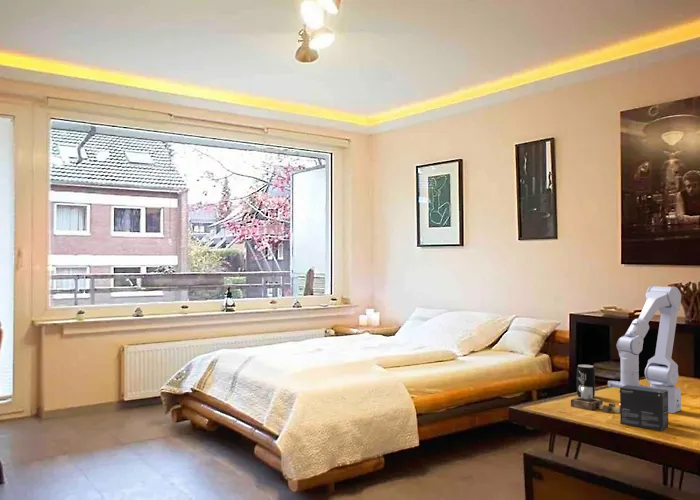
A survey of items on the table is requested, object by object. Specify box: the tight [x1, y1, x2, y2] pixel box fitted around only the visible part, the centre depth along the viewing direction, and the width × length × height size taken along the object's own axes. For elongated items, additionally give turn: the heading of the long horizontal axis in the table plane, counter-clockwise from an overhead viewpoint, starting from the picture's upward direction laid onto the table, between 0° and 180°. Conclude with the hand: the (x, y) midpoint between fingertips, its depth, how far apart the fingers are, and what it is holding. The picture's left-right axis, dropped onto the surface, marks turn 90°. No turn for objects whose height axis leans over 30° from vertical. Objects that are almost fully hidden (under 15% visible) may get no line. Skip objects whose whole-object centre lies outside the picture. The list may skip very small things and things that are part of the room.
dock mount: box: [570, 396, 616, 414], centre depth 220 cm, size 13×8×2 cm, turn 42°
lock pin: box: [599, 402, 620, 414], centre depth 215 cm, size 9×2×4 cm, turn 42°
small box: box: [619, 385, 669, 432], centre depth 197 cm, size 13×7×12 cm, turn 48°
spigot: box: [581, 386, 594, 402], centre depth 223 cm, size 4×4×7 cm
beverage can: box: [576, 364, 596, 398], centre depth 239 cm, size 7×7×12 cm
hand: (629, 410), depth 211 cm, fingers closed
